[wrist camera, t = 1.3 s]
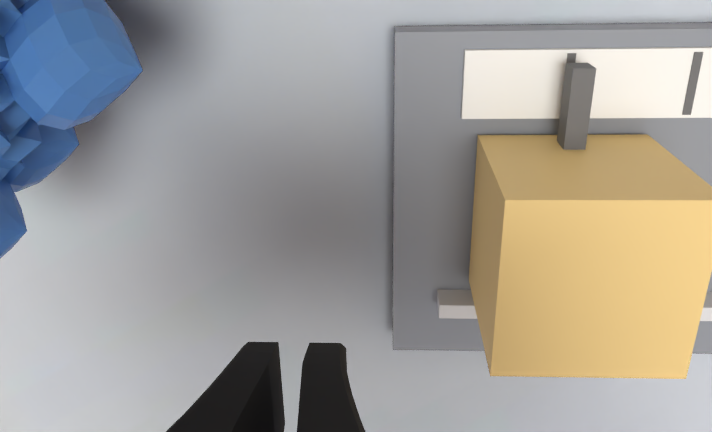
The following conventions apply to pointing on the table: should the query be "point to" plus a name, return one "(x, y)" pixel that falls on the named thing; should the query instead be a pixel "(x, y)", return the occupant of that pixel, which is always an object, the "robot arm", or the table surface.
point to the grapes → (52, 89)
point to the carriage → (587, 250)
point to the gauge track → (520, 117)
